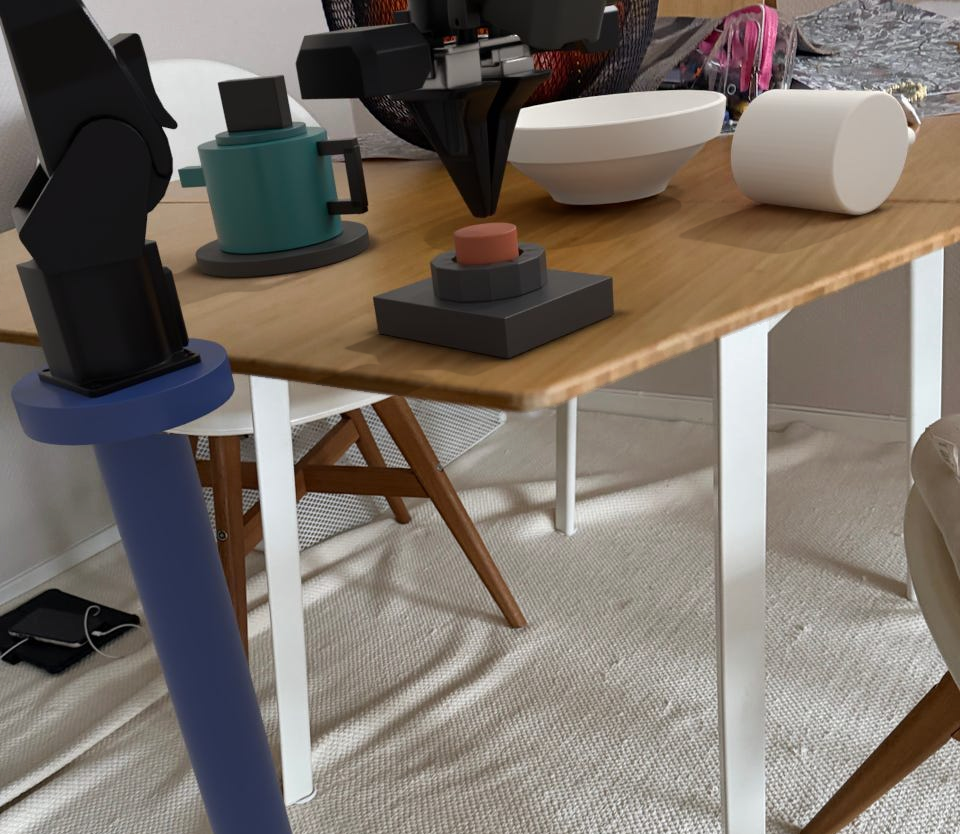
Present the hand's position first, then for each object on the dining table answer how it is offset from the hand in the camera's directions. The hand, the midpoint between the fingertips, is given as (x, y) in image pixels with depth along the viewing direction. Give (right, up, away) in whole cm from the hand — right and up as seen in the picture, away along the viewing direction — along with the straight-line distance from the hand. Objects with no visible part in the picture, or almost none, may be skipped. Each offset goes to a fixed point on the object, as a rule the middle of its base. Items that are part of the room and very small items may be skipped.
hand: (484, 216), depth 62 cm
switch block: (+1, -5, +3) cm, 6 cm away
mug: (+27, +9, +22) cm, 36 cm away
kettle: (-16, +8, +26) cm, 32 cm away
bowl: (+11, +14, +32) cm, 37 cm away
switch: (0, -2, +1) cm, 2 cm away
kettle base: (-16, +7, +27) cm, 32 cm away
